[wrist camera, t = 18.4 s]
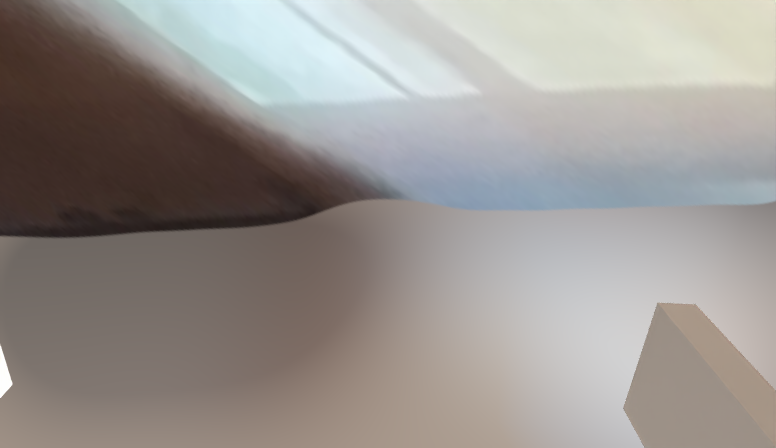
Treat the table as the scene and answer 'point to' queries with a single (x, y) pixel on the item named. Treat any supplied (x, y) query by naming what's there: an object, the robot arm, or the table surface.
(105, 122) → the table surface
